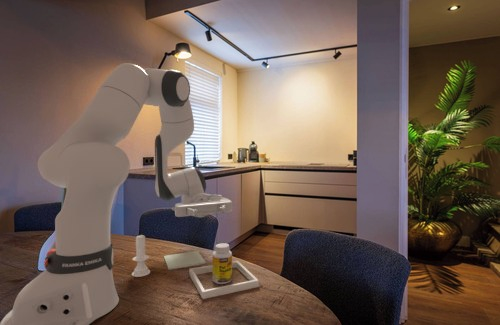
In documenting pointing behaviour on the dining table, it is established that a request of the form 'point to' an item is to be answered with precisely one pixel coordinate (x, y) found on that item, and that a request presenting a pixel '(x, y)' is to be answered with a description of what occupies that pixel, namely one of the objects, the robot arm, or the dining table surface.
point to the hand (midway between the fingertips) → (209, 211)
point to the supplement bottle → (222, 264)
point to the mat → (183, 260)
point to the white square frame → (223, 290)
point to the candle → (140, 258)
